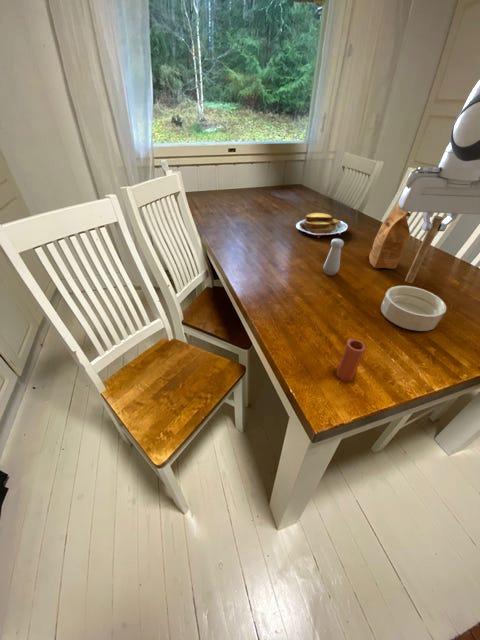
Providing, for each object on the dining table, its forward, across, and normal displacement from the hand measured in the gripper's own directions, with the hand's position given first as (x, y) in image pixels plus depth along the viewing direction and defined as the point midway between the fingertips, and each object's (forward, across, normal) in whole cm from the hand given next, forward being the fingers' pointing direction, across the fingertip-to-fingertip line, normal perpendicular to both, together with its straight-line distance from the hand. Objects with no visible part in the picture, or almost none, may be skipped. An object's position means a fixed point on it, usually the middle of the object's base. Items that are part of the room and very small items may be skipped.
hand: (432, 230), depth 68 cm
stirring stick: (+15, 0, 0) cm, 15 cm away
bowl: (+26, +3, -2) cm, 26 cm away
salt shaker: (+26, -16, +23) cm, 38 cm away
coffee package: (+26, +6, +33) cm, 43 cm away
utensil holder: (+26, -21, -27) cm, 43 cm away
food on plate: (+26, -13, +68) cm, 74 cm away
